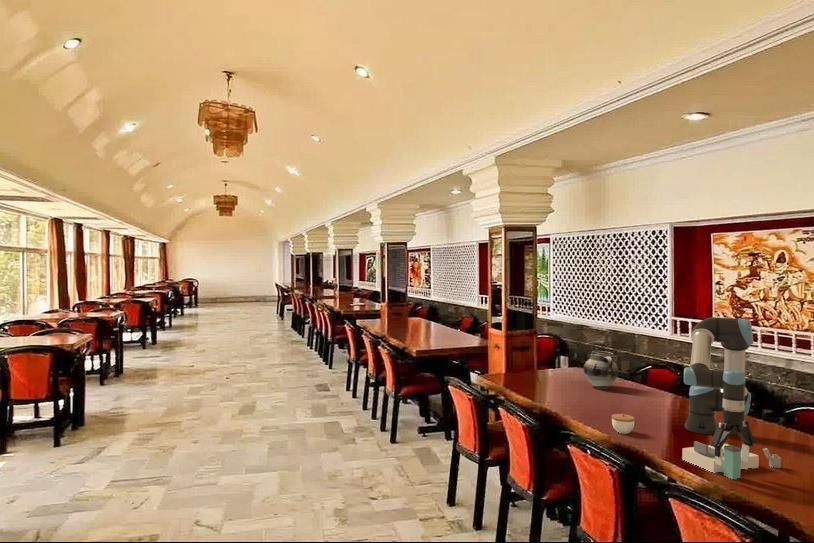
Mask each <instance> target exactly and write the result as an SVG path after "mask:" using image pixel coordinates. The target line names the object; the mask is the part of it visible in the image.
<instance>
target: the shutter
mask: <svg viewBox="0 0 814 543" xmlns="http://www.w3.org/2000/svg"><path fill="white" fill-rule="evenodd" d="M693 447H694V451H696V452H699V453H701V454H704V455H706V456H709V457H715V449H712V448H710V447H708V444H705V443H702V442H699V441H697V440H695V441H693ZM723 455H724V453H723Z"/></svg>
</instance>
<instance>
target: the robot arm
mask: <svg viewBox="0 0 814 543" xmlns="http://www.w3.org/2000/svg"><path fill="white" fill-rule="evenodd" d="M690 334H691V335H690V339H691V341H692V347H691V357H690V366H688V367H685V368H683V383H684V384H685V385H688V386H690V387H689V393H688V396H689V397H688V398H689V399H688V400H689V403H688V404H689V405H688V415H687V418H686V421H685V423H684V428H686V429H685V430H687V431H688V432H689V431H690V432H692V433H696V434H702V435H713V436H712V439H711V442H710V444H709V445H711V446H713V447H715V464H718V465H720V466H723V449H721V448H722V446H723V445H724V444H726V442H727V440H728V438H729V437H730V436H732V435H734V434H736V435H738V437H739V438H740V440H741V442H742V444H741V449H742V461H745V462H747V463H749V453H751V447H753V446H754V444H755V443H756V441H755V438H754V436H753V434H752V431H751V428H750V422H749V421H747V420H745V415H746V416H747V415H748V414H749V413H750V412H749V411H750V407H751V401H752V394H751V392H750V391H748V388H747V387H746V373H745V370H746V351H747V350H748V349H749V348H750V346H751V345H753V344H754V336H753V327H752V322H751V320H749V319H747V318H740V317H738V318H734V317H733V318H732V317H729V318H728V317H714V316H711V317H707V318H705V319H702V320H701V321H699V322H698V323H696V325H694V327H693V328H692V330H691V333H690ZM714 342H716V343H720V345H721V347H722V348H724V350H723V352H724V357H723V359H724V360H723V361H724V363H723V365H724V366H723V370H718V369H710V367H711V358H712V357H711V353H712V344H713V343H714ZM716 413H721V414H722V419H723V420H724V421H723V422H720V421H718V422H717V418H716Z"/></svg>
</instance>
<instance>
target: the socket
mask: <svg viewBox="0 0 814 543" xmlns="http://www.w3.org/2000/svg"><path fill="white" fill-rule="evenodd" d="M707 445H708V444H707ZM728 445H729V444H728V443H724V445H723V446H722V448H721V449H723V453H724V446H728ZM708 447H710V448H712V449H715V447H713V446H711V445H710V444H709V445H708ZM681 455H682V456H681V458H682V461H684V460H685V461H684V462H686V461H687V462H686V463H688V462H689V464H691V463H692V464H691V465H693V464H694V465H693V466H695V465H697V466H699V467H698V468H700V467H701V468H700V469H702V468H704V469H706V470H705V471H707V470H708V471H707V472H709V471H710V472H709V473H711V472H713V473H714V474H717V473H716V472H722V473H724V455H723V466H720V465H718V464H715V457H709V456H706V455H704V454H701V453H699V452H696V451H694V446H690V447H683V448H682V454H681ZM759 457H760V456H759V455H758V454H755V453H752V452H750V453H749V463H747V462H745V461H742V448H741V469H745V470H749V469H748V468H752V469H759V462H760V461H759V460H760V459H759ZM697 466H696V467H697ZM704 469H703V470H704ZM713 473H712V474H713Z"/></svg>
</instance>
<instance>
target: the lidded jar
mask: <svg viewBox="0 0 814 543" xmlns="http://www.w3.org/2000/svg"><path fill="white" fill-rule="evenodd" d="M635 421H636V420H635V417H634V416H633V415H629V414H625V413H614V414H612V415H611V424H612V427H613V429H614V431H617V432H616V433H618V432H619V433H618V434H622V435H628V434H630V433H631V432H632V431H633V429H634V428H635Z"/></svg>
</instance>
